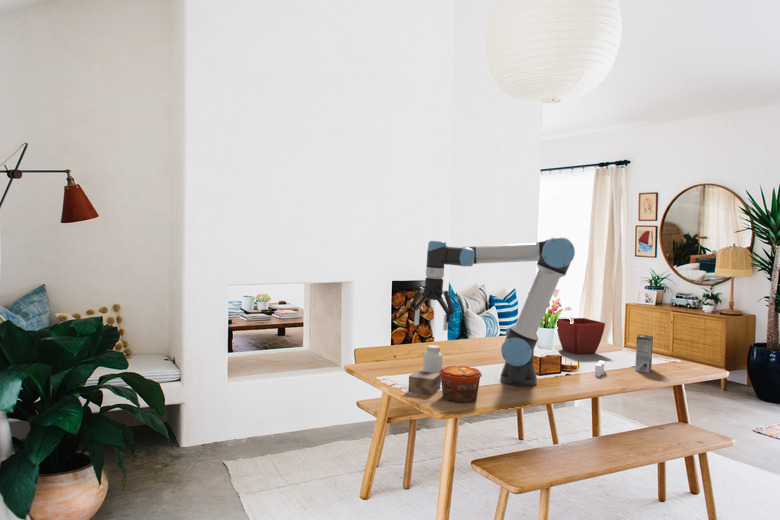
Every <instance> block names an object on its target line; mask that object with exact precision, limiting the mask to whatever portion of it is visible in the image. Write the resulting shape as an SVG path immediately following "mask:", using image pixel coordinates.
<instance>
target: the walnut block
mask: <svg viewBox="0 0 780 520" xmlns="http://www.w3.org/2000/svg"><path fill="white" fill-rule="evenodd" d="M441 385H442V382H441V374H440V373H432V372H424V371H423V370H416V371H414V372H413V373H412V374H410V375H409V376H408V392H411V393H417V394H425V395H430V396H431V395H434V394H435V393H437V392H438V391H439V390H440V389H441Z"/></svg>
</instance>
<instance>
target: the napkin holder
mask: <svg viewBox="0 0 780 520" xmlns="http://www.w3.org/2000/svg"><path fill="white" fill-rule="evenodd" d="M605 362H606V361H605V360H601V359H600V360H598V363H597V362H596V363H595V367H594V376H595V377H601V375H602V376H603V375H604V374H605Z"/></svg>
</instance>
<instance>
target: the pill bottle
mask: <svg viewBox="0 0 780 520" xmlns="http://www.w3.org/2000/svg"><path fill="white" fill-rule="evenodd" d="M440 351H441V347H440V346H439V345H435V344H432V345H431V344H430V345H427V346H426V352H424V354H423V360H422V361H423V363H422V364H423V365H422V371H424V372H432V373H439V371H440V370H441V369H442V368H443V358H444V357H443V354H442V353H441V352H440Z"/></svg>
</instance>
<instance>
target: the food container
mask: <svg viewBox="0 0 780 520" xmlns="http://www.w3.org/2000/svg"><path fill="white" fill-rule="evenodd" d="M439 373H440V374H441V391H442V392H441V393H442V398H443V399H444V401H448V402H452V403H459V404H461V403H462V404H464V403H472V402H475V401H477V399H478V394H479V386H480V379H481V377H482V375H483V374H482V372H481V371H480V370H479V369H478V368H475V367H470V366H465V365H459V366H456V365H448V366H446V367H442V369H441V370H440V371H439Z"/></svg>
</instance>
